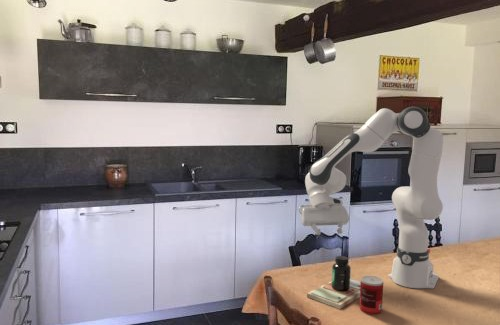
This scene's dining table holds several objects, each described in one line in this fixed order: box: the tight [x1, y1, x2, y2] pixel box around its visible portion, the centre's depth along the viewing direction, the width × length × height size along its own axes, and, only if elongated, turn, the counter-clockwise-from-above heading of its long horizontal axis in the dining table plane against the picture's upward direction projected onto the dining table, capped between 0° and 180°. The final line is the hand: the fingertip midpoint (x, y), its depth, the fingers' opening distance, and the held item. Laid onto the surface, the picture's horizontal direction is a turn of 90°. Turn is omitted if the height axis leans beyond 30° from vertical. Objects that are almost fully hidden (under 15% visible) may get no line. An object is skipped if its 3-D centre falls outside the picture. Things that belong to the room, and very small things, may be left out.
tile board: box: [306, 278, 361, 310], centre depth 165 cm, size 24×14×2 cm, turn 138°
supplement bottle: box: [331, 255, 352, 291], centre depth 165 cm, size 7×7×12 cm
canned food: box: [359, 275, 384, 315], centre depth 151 cm, size 8×8×11 cm
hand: (329, 233), depth 175 cm, fingers open, 8 cm apart
